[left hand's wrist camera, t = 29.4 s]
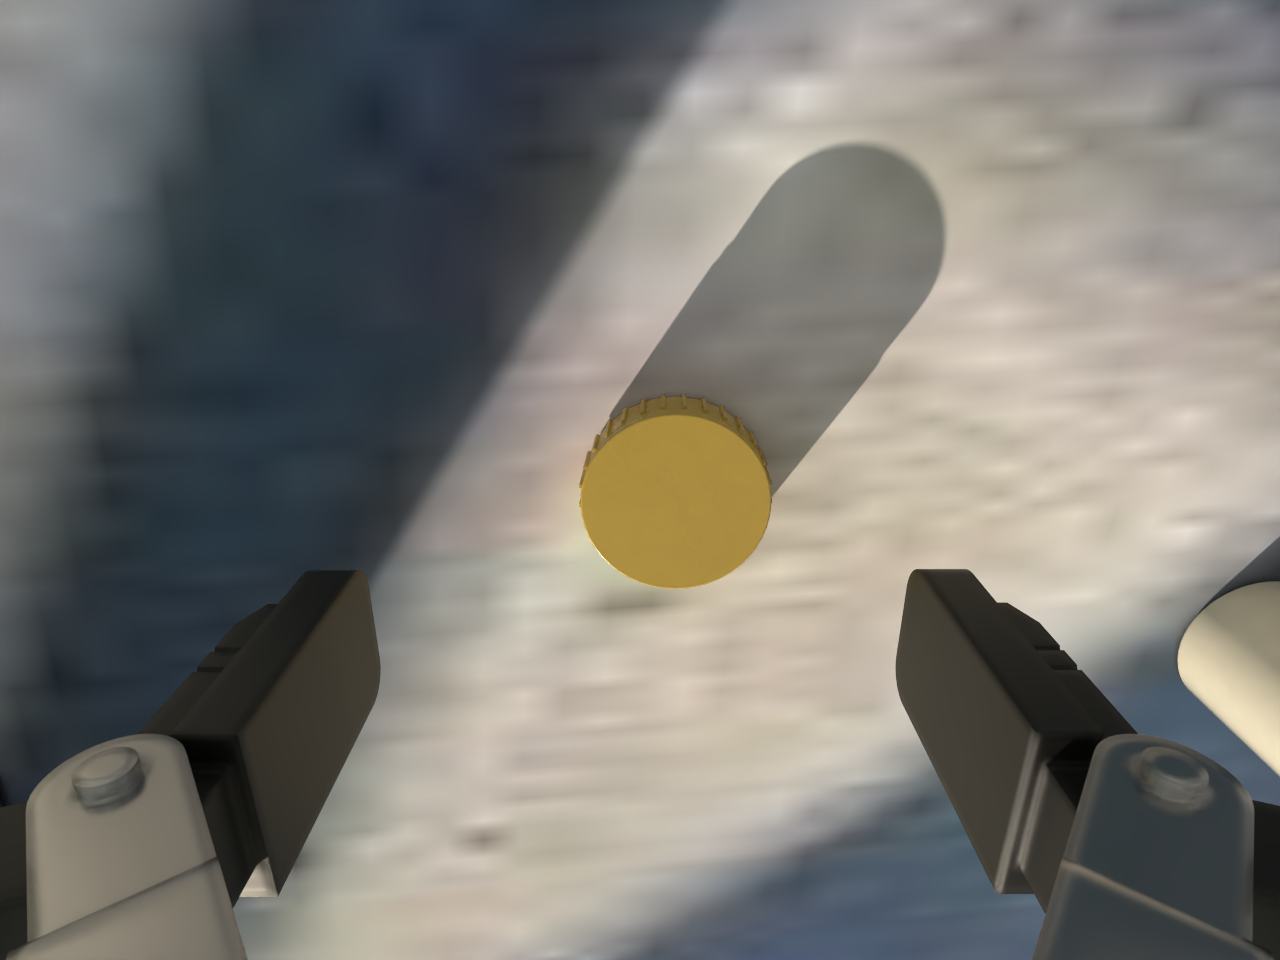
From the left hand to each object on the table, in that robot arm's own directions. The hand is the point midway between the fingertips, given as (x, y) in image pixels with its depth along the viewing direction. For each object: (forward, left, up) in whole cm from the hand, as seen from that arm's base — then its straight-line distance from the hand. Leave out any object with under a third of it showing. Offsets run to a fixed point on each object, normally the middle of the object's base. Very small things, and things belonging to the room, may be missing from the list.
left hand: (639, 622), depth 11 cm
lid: (+2, 0, -8) cm, 8 cm away
